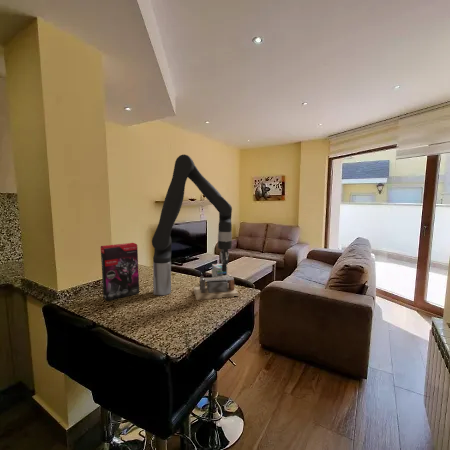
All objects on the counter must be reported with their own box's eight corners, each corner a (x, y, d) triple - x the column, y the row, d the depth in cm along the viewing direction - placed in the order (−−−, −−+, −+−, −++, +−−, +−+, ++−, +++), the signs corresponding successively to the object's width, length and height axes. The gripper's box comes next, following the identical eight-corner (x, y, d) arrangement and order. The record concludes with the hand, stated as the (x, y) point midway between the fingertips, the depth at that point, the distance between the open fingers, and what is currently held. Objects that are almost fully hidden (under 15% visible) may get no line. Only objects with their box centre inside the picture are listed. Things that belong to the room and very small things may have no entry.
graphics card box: (105, 302, 123) (104, 247, 120) (101, 298, 128) (99, 245, 125) (139, 294, 134) (138, 243, 132) (134, 290, 139) (133, 242, 137)
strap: (201, 282, 132) (201, 278, 132) (200, 280, 135) (200, 276, 135) (233, 280, 136) (234, 276, 136) (232, 278, 139) (232, 274, 139)
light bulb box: (227, 284, 151) (227, 267, 150) (217, 285, 149) (217, 268, 148) (221, 279, 161) (221, 263, 160) (211, 280, 159) (211, 264, 158)
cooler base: (196, 299, 127) (196, 282, 126) (193, 290, 140) (193, 274, 140) (238, 296, 132) (238, 279, 131) (231, 287, 145) (231, 272, 145)
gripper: (215, 238, 140) (215, 268, 142) (220, 241, 127) (219, 275, 129) (228, 238, 142) (228, 267, 143) (234, 241, 129) (233, 274, 131)
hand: (224, 271), depth 136 cm, fingers closed
